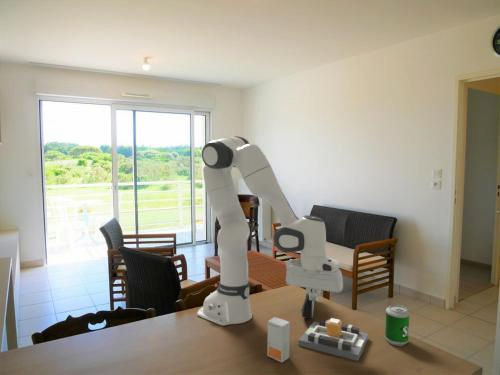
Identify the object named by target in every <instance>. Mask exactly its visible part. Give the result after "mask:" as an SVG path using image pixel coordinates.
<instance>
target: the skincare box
mask: <svg viewBox="0 0 500 375" xmlns="http://www.w3.org/2000/svg"><path fill="white" fill-rule="evenodd" d="M290 323H291V322H290V321H287V320H285V319H282V318H280V317H279V318H278V317H275V316H274V317H272V318H270V319H269V320H267V354H266V356H267V357H269V358H271V359H272V360H275V361H278V362H280V363H284V362H285V361H287V360H288V359H289V358H290V335H291V334H290V333H291V332H290V329H291V327H290V325H291V324H290Z"/></svg>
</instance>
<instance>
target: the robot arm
mask: <svg viewBox="0 0 500 375" xmlns="http://www.w3.org/2000/svg"><path fill="white" fill-rule="evenodd" d="M201 158H202V162H203V163H204V164H205V165H204V166H203V169H202V172H203V180H204V181H203V182H204V185H205V189H206V194H207V197H208V200H209V203H210V206H211V210H212V212H213V213H214V214H215V217H216V219H217V221H218V223H219V226H220V229H219V230H218V232H217V237H216V241H217V242H216V243H217V247H218V257H219V264H220V266H219V267H220V280H219V281H218V282H217V283H215V284H214V285H215V286H214V287H215V288H216V287H217V288H216V290H214V291H213V292H212V293H210V294H209V295H208V296H206V297H205V299H204V301H203V305H202V307H200V308H199V309H198V310H197V312H196V313H197V314H196V315H197V316H198V317H200V318H203V319H205V320H208V321H210V322H212V323H215V324H217V325H219V326H228V325H237V324H243V323H246V322H249V321H250V320H252V318H253V314H252V309H251V305H250V282H249V261H248V251H247V250H248V249H247V243H248V242H247V241H248V239H249V237H250V235H251V231H250V230H251V229H250V226H249V222H248V220H247V217H246V215H245V213H244V210H243V208H242V205H241V203H240V201H239V196H238V193H237V190H236V187H235V183H234V180H233V177H232V169H233V168H236V169H238V171H239V173H240V175H241V177H242V179H243V182H244V184H245V185H246V187H247V188H248V190H249V192H250V193H251V194H252V196H254V197H256V198H259V199H262V200H264V201H266V202H267V203H268V204H269V205H270V206H271V208H272V210H273V211H274V214H275V215H276V217H277V218H278V221H279V223H280V225H281V226H280V227H278V229H276V230H275V232H274V233H273V234H274V235H273V243H274V246H275V247H276V249H277V250H278V251H280V252H282V253H287V254H288V253H296V252H300V259H293V258H289V260H287V261H286V262H285V268H286V272H285V283H286V284H287V285H288V286H291V287H292V286H293V287H300V288H305V292H306V293H308V295H309V300H313V301H314V302H318V301H319V299H320V298H319V295H321V293H322V291H326V292H331V293H336V294H337V293H340V292H342V290H343V289H344V281H343V280H344V279H343V273H342V270H341V269H339V268H340V266H341V263H340V261H338V260H336V259H334V258H332V257H329V256H327V251H326V244H327V231H326V230H327V229H326V224H325V220H323V218H321V217H318V216H315V215H307V214H306V215H303V216H302V217H300V218H299V217H297V215H296V214H295V212H294V210H293V209H292V207H291V205H290V203H289V200H288V199H287V198H286V196H285V194H284V192H283V190H282V189H281V188H282V187H281V186H280V184H279V182H278V181H279V180H278V179H277V176H276V175H275V172H274V170H273V168H272V166H271V164H270V162H269V160H268V158H267V156H266V155H265V154H264V152H263V151H262V149H261V148H260V146H259V145H257V144H255V143H250V142H249V140H248V139H246V138H245V137H241V136H236V135H235V136H225V137H222V138H218V139H214V140H211V141H208V142H207V143H205V145H204V146H203V147H202V150H201ZM311 289H315V294H312V292H311Z"/></svg>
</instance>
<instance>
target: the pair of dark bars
mask: <svg viewBox="0 0 500 375" xmlns="http://www.w3.org/2000/svg"><path fill="white" fill-rule="evenodd" d="M329 320H330V319H327V320H324V319H320V320H319V321H318V323H319V326H323V327H327V323H328V321H329ZM341 331H345V332H349V333H354V334H359V332H360V327H357V326H356V327H355V326H354V325H353V324H348V325H346V324H342V328H341ZM308 341H312V342H314V343H317V344H318V343H320V344H324V345H327V346H331V347H335V348H338V349H341V350H342V349H343V350H347V351H350V349H351V343H348V342H344V340H343V339H340V340H336V339H332V338H327V337H323V336H320V334H318V333H317V334H316V335H315V334H311V333H310V334H309V335H308Z"/></svg>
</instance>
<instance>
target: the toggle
mask: <svg viewBox="0 0 500 375" xmlns="http://www.w3.org/2000/svg"><path fill="white" fill-rule="evenodd" d="M328 320H329V321H328V323H327V335H329V336H333V337H337V338H340V336H341V328H342V325H343V324H342V323H343V322H342V321H341V319H338V318H333V317H331V318H329V319H328Z"/></svg>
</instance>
